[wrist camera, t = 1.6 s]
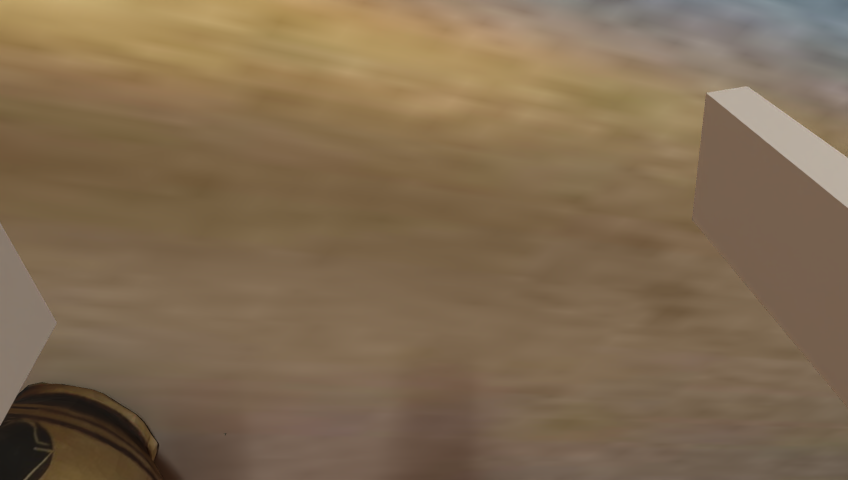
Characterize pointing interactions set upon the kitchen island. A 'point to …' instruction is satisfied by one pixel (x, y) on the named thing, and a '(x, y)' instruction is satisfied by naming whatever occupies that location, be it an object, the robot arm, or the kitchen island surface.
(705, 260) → the kitchen island surface
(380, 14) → the kitchen island surface
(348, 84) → the kitchen island surface
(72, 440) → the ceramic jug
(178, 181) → the kitchen island surface
